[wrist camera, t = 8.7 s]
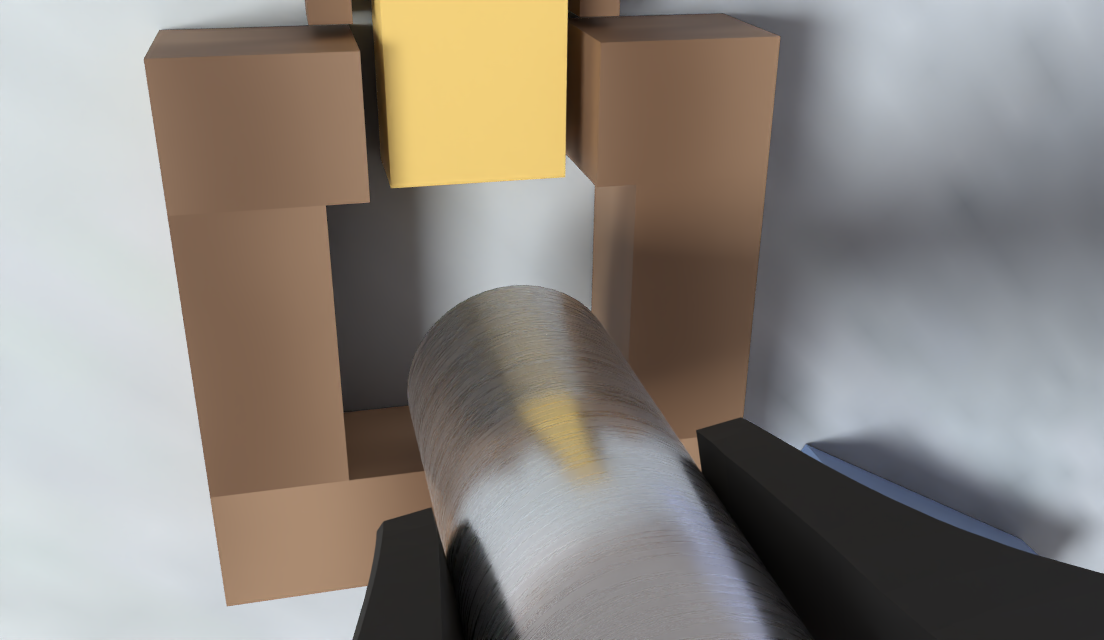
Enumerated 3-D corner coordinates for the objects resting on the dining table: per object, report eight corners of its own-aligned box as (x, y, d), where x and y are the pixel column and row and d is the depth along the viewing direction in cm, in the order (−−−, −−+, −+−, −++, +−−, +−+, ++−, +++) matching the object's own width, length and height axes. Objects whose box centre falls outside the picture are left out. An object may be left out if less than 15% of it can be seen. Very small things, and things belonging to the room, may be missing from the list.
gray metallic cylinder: (653, 333, 17) (986, 769, 9) (551, 499, 18) (773, 1028, 10) (471, 250, 16) (674, 677, 8) (370, 434, 17) (460, 986, 9)
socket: (746, -296, 18) (814, -313, 15) (688, 467, 24) (732, 532, 22) (109, -321, 15) (81, -347, 13) (231, 527, 22) (226, 606, 19)
